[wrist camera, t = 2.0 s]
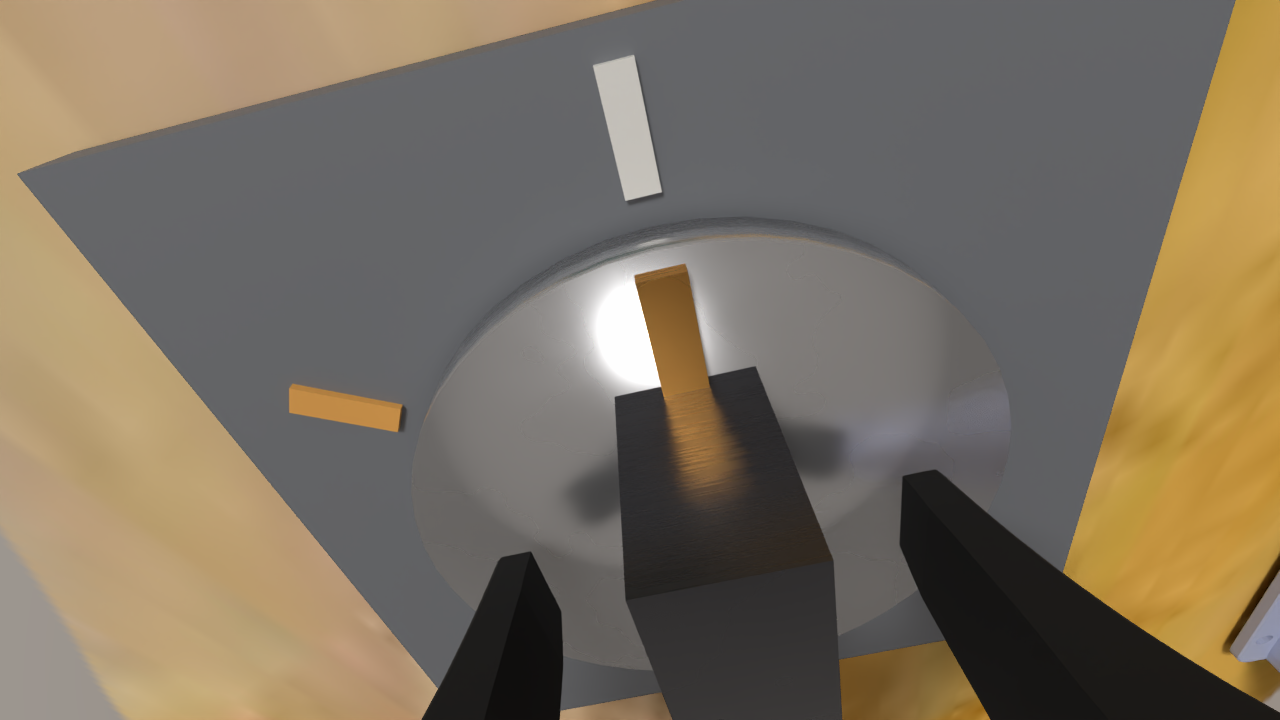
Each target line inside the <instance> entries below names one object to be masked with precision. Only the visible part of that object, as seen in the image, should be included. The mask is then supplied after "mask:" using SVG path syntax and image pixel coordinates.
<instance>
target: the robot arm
mask: <svg viewBox="0 0 1280 720" xmlns="http://www.w3.org/2000/svg"><path fill="white" fill-rule="evenodd" d="M899 545H900V548H901V550H902V553H903V555H904V557H905V560H906V562H907V565H908V567H909V569H910V572H911V574H912V576H913V579H914V581H915V583H916V586H917V588H918V590H919V592H920V595H921V597H922V599H923V601H924V602H925V604H926V606H927V608H928V610H929V611H930V613H931V615H932V617H933V619H934V620H935V622H936V624H937V626H938V628H939V629H940V631H941V633H942V635H943V636H944V638H945V640H946V642H947V644H948V645H949V647H950V649H951V651H952V652H953V654H954V656H955V658H956V659H957V661H958V663H959V665H960V666H961V668H962V670H963V672H964V673H965V675H966V677H967V679H968V681H969V682H970V684H971V686H972V688H973V689H974V691H975V693H976V695H977V696H978V698H979V700H980V702H981V703H982V705H983V707H984V709H985V710H986V712H987V714H988V716H989V718H990V720H1280V712H1278V711H1276V710H1274V709H1273V708H1271V707H1269V706H1267V705H1265V704H1264V703H1262V702H1260V701H1258V700H1257V699H1255V698H1253V697H1251V696H1249V695H1248V694H1246V693H1244V692H1242V691H1241V690H1239V689H1237V688H1235V687H1234V686H1232V685H1230V684H1229V683H1227V682H1225V681H1224V680H1222V679H1220V678H1219V677H1217V676H1215V675H1214V674H1212V673H1210V672H1209V671H1207V670H1206V669H1204V668H1202V667H1201V666H1199V665H1197V664H1196V663H1194V662H1193V661H1191V660H1189V659H1188V658H1186V657H1184V656H1183V655H1181V654H1180V653H1178V652H1177V651H1175V650H1173V649H1172V648H1170V647H1169V646H1167V645H1166V644H1164V643H1163V642H1161V641H1159V640H1158V639H1156V638H1155V637H1153V636H1152V635H1150V634H1149V633H1147V632H1146V631H1144V630H1143V629H1141V628H1140V627H1138V626H1137V625H1135V624H1134V623H1132V622H1131V621H1129V620H1128V619H1126V618H1125V617H1123V616H1122V615H1120V614H1119V613H1118V612H1116V611H1115V610H1113V609H1112V608H1110V607H1109V606H1107V605H1106V604H1105V603H1103V602H1102V601H1101V600H1099V599H1098V598H1096V597H1095V596H1094V595H1092V594H1091V593H1089V592H1088V591H1087V590H1085V589H1084V588H1082V587H1081V586H1080V585H1078V584H1077V583H1076V582H1074V581H1073V580H1072V579H1070V578H1069V577H1068V576H1066V575H1065V574H1064V573H1062V572H1061V571H1060V570H1058V569H1057V568H1056V567H1054V566H1053V565H1052V564H1050V563H1049V562H1048V561H1047V560H1045V559H1044V558H1043V557H1041V556H1040V555H1039V554H1038V553H1036V552H1035V551H1034V550H1033V549H1031V548H1030V547H1029V546H1027V545H1026V544H1025V543H1024V542H1022V541H1021V540H1020V539H1019V538H1017V537H1016V536H1015V535H1014V534H1012V533H1011V532H1010V531H1009V530H1007V529H1006V528H1005V527H1004V526H1003V525H1001V524H1000V523H999V522H998V521H997V520H995V519H994V518H993V517H992V516H991V515H989V514H988V513H987V512H986V511H985V510H983V509H982V508H981V507H980V506H979V505H978V504H976V503H975V502H974V501H973V500H972V499H971V498H969V497H968V496H967V495H966V494H965V493H964V492H963V491H961V490H960V489H959V488H958V487H957V486H956V485H955V484H953V483H952V482H951V481H950V480H949V479H948V478H947V477H945V476H944V475H943V474H942V473H941V472H939V471H938V470H936V469H934V470H929V471H924V472H919V473H914V474H909V475H904V476H903V477H902V499H901V520H900V542H899ZM1230 652H1231V653H1232V654H1233V655H1234V656H1235V657H1236V658H1237V660H1238V661H1241V662H1251V661H1257V660H1263V659H1267V660H1268V661H1269V662H1270V663H1271V664H1272V665H1273V666H1274V668H1275V669H1276V670H1277V671H1278V672H1279V673H1280V570H1279V572H1278V573H1277V575H1276V576H1275V578H1274V579H1273V581H1272V583H1271V584H1270V586H1269V587H1268V589H1267V590H1266V592H1265V594H1264V595H1263V597H1262V598H1261V600H1260V601H1259V603H1258V605H1257V606H1256V608H1255V609H1254V611H1253V612H1252V614H1251V616H1250V617H1249V619H1248V620H1247V622H1246V623H1245V625H1244V626H1243V628H1242V630H1241V631H1240V633H1239V634H1238V636H1237V637H1236V639H1235V641H1234V642H1233V644H1232V645H1231V647H1230ZM562 679H563V635H562V613H561V609H560V607H559V605H558V603H557V601H556V599H555V597H554V596H553V594H552V592H551V590H550V588H549V586H548V584H547V582H546V580H545V578H544V576H543V574H542V572H541V570H540V568H539V566H538V564H537V562H536V560H535V558H534V556H533V554H532V552H531V551H529V552H524V553H520V554H515V555H510V556H505V557H501V558H500V559H499V561H498V562H497V564H496V567H495V569H494V571H493V574H492V576H491V578H490V581H489V583H488V585H487V587H486V590H485V592H484V594H483V597H482V599H481V601H480V603H479V606H478V608H477V610H476V612H475V614H474V617H473V619H472V621H471V623H470V625H469V628H468V630H467V632H466V634H465V636H464V638H463V640H462V642H461V644H460V646H459V648H458V650H457V652H456V654H455V657H454V659H453V661H452V663H451V665H450V667H449V669H448V671H447V673H446V675H445V677H444V679H443V681H442V683H441V685H440V686H439V688H438V690H437V692H436V694H435V696H434V698H433V699H432V701H431V703H430V705H429V707H428V709H427V710H426V712H425V714H424V716H423V718H422V720H560V707H561V693H562Z"/></svg>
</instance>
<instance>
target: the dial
mask: <svg viewBox="0 0 1280 720" xmlns="http://www.w3.org/2000/svg"><path fill="white" fill-rule="evenodd" d="M1010 434H1011V419H1010V408H1009V398H1008V394H1007V391H1006V388H1005V384H1004V381H1003V378H1002V375H1001V371H1000V368H999V366H998V364H997V363H996V361H995V359H994V357H993V355H992V353H991V352H990V350H989V348H988V346H987V344H986V343H985V341H984V339H983V338H982V337H981V336H980V335H979V333H978V332H977V331H976V330H975V329H974V327H973V326H972V325H971V324H970V323H969V321H968V320H967V319H966V318H965V317H964V316H963V314H962V313H961V312H960V311H959V310H958V309H957V308H956V307H954V306H953V305H952V304H951V303H950V302H949V301H948V300H947V299H946V298H945V297H944V296H943V295H942V294H941V293H940V292H939V291H938V290H937V289H936V288H935V287H934V286H932V285H931V284H930V283H929V282H928V281H926V280H925V279H924V278H923V277H921V276H920V275H919V274H918V273H917V272H915V271H914V270H913V269H912V268H911V267H909V266H908V265H907V264H906V263H904V262H902V261H900V260H899V259H897V258H895V257H893V256H892V255H890V254H888V253H886V252H885V251H883V250H881V249H879V248H878V247H876V246H874V245H872V244H870V243H867V242H864V241H862V240H859V239H856V238H854V237H851V236H848V235H846V234H843V233H841V232H838V231H835V230H832V229H827V228H823V227H818V226H814V225H810V224H805V223H801V222H796V221H792V220H781V219H769V218H757V217H745V216H744V217H722V218H699V219H692V220H686V221H680V222H675V223H669V224H663V225H657V226H651V227H647V228H644V229H641V230H638V231H634V232H631V233H628V234H624V235H621V236H618V237H614V238H611V239H608V240H604V241H602V242H600V243H598V244H596V245H593V246H591V247H589V248H587V249H584V250H582V251H580V252H578V253H575V254H573V255H571V256H569V257H566V258H564V259H562V260H560V261H559V262H557V263H555V264H554V265H552V266H550V267H549V268H547V269H546V270H544V271H542V272H541V273H539V274H537V275H536V276H534V277H532V278H531V279H529V280H528V281H526V282H524V283H523V284H522V285H521V286H519V287H518V288H517V289H516V290H515V291H513V292H512V293H511V294H510V295H508V296H507V297H506V298H505V299H504V300H502V301H501V302H500V303H499V304H497V305H496V306H495V307H494V308H492V310H491V311H490V312H489V313H488V314H487V315H486V316H485V317H484V318H483V319H482V320H481V322H480V323H479V324H478V325H477V326H476V327H475V328H474V329H473V330H472V331H471V332H470V334H469V335H468V336H467V337H466V338H465V340H464V341H463V343H462V344H461V346H460V347H459V349H458V350H457V352H456V353H455V355H454V356H453V358H452V359H451V361H450V362H449V364H448V365H447V367H446V369H445V371H444V373H443V375H442V378H441V380H440V382H439V384H438V387H437V389H436V391H435V393H434V395H433V398H432V401H431V403H430V406H429V409H428V412H427V414H426V417H425V420H424V423H423V426H422V428H421V431H420V435H419V439H418V443H417V447H416V451H415V455H414V459H413V465H412V485H411V495H412V502H413V509H414V516H415V522H416V525H417V527H418V530H419V533H420V536H421V539H422V542H423V545H424V547H425V549H426V551H427V553H428V554H429V556H430V558H431V560H432V562H433V563H434V565H435V567H436V569H437V570H438V572H439V573H440V574H441V575H442V577H443V578H444V579H445V581H446V582H447V583H448V584H449V586H450V587H451V588H452V589H453V591H454V592H455V593H456V594H458V595H459V596H460V597H461V598H462V599H463V600H464V601H465V602H466V603H467V604H468V605H469V606H470V607H471V608H472V609H473V610H475V611H476V610H477V608H478V606H479V603H480V601H481V599H482V597H483V594H484V592H485V590H486V587H487V585H488V583H489V581H490V578H491V576H492V574H493V571H494V569H495V567H496V564H497V562H498V561H499V559H500V558H501V557H505V556H510V555H515V554H520V553H524V552H529V551H531V552H532V554H533V556H534V558H535V560H536V562H537V564H538V566H539V568H540V570H541V572H542V574H543V576H544V578H545V580H546V582H547V584H548V586H549V588H550V590H551V592H552V594H553V596H554V597H555V599H556V601H557V603H558V605H559V607H560V609H561V613H562V635H563V656H566V657H569V658H572V659H577V660H581V661H585V662H590V663H594V664H599V665H605V666H612V667H619V668H626V669H638V670H653V671H654V674H655V676H656V679H657V682H658V684H659V687H660V689H661V692H662V694H663V697H664V699H665V702H666V704H667V707H668V709H669V712H670V714H671V717H672V719H673V720H842V708H841V689H840V670H839V652H838V636H839V635H842V634H844V633H846V632H848V631H850V630H852V629H855V628H857V627H859V626H861V625H863V624H865V623H866V622H868V621H870V620H872V619H874V618H875V617H877V616H879V615H881V614H883V613H884V612H886V611H888V610H889V609H891V608H892V607H894V606H895V605H897V604H898V603H900V602H901V601H903V600H904V599H906V598H907V597H909V596H910V595H912V594H913V593H914V592H915V591H916V590H918V588H917V586H916V583H915V581H914V579H913V576H912V574H911V572H910V569H909V567H908V565H907V562H906V560H905V557H904V555H903V553H902V550H901V548H900V545H899V542H900V520H901V499H902V477H903V476H904V475H909V474H914V473H919V472H924V471H929V470H934V469H936V470H938V471H939V472H941V473H942V474H943V475H944V476H945V477H947V478H948V479H949V480H950V481H951V482H952V483H953V484H955V485H956V486H957V487H958V488H959V489H960V490H961V491H963V492H964V493H965V494H966V495H967V496H968V497H969V498H971V499H972V500H973V501H974V502H975V503H976V504H978V505H979V506H980V507H981V508H982V509H983V510H985V511H986V512H987V511H988V509H989V508H990V505H991V503H992V501H993V499H994V496H995V494H996V492H997V490H998V488H999V485H1000V483H1001V480H1002V477H1003V473H1004V469H1005V466H1006V462H1007V458H1008V455H1009V444H1010Z"/></svg>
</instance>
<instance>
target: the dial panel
mask: <svg viewBox="0 0 1280 720" xmlns="http://www.w3.org/2000/svg"><path fill="white" fill-rule="evenodd" d="M1235 1H1236V0H656V1H652V2H648V3H644V4H640V5H636V6H633V7H629V8H625V9H621V10H617V11H613V12H610V13H606V14H602V15H598V16H594V17H590V18H587V19H583V20H579V21H575V22H571V23H567V24H564V25H560V26H556V27H552V28H548V29H544V30H541V31H537V32H533V33H529V34H525V35H521V36H518V37H514V38H510V39H506V40H502V41H498V42H495V43H491V44H487V45H483V46H479V47H475V48H472V49H468V50H464V51H460V52H456V53H452V54H449V55H445V56H441V57H437V58H433V59H429V60H425V61H422V62H418V63H414V64H410V65H406V66H402V67H399V68H395V69H391V70H387V71H383V72H379V73H376V74H372V75H368V76H364V77H360V78H356V79H353V80H349V81H345V82H341V83H337V84H333V85H330V86H326V87H322V88H318V89H314V90H310V91H307V92H303V93H299V94H295V95H291V96H287V97H284V98H280V99H276V100H272V101H268V102H264V103H261V104H257V105H253V106H249V107H245V108H241V109H238V110H234V111H230V112H226V113H222V114H218V115H215V116H211V117H207V118H203V119H199V120H195V121H192V122H188V123H184V124H180V125H176V126H172V127H168V128H165V129H161V130H157V131H153V132H149V133H145V134H142V135H138V136H134V137H130V138H126V139H122V140H119V141H115V142H111V143H107V144H103V145H99V146H96V147H92V148H88V149H84V150H80V151H76V152H73V153H71V154H68V155H65V156H63V157H60V158H57V159H55V160H52V161H49V162H47V163H44V164H41V165H39V166H36V167H34V168H31V169H28V170H26V171H23V172H20V173H18V174H17V175H18V176H19V177H20V178H21V180H22V181H23V182H24V183H25V185H26V186H27V187H28V188H29V189H30V191H31V192H32V193H33V194H34V196H35V197H36V198H37V199H38V200H39V202H40V203H41V204H42V205H43V207H44V208H45V209H46V210H47V211H48V213H49V214H50V215H51V216H52V218H53V219H54V220H55V221H56V222H57V224H58V225H59V226H60V227H61V228H62V230H63V231H64V232H65V233H66V235H67V236H68V237H69V238H70V239H71V241H72V242H73V243H74V244H75V246H76V247H77V248H78V249H79V250H80V252H81V253H82V254H83V255H84V257H85V258H86V259H87V260H88V261H89V263H90V264H91V265H92V266H93V268H94V269H95V270H96V271H97V272H98V274H99V275H100V276H101V277H102V279H103V280H104V281H105V282H106V283H107V285H108V286H109V287H110V288H111V290H112V291H113V292H114V293H115V294H116V296H117V297H118V298H119V299H120V301H121V302H122V303H123V304H124V305H125V307H126V308H127V309H128V310H129V312H130V313H131V314H132V315H133V316H134V318H135V319H136V320H137V321H138V323H139V324H140V325H141V326H142V327H143V329H144V330H145V331H146V332H147V334H148V335H149V336H150V337H151V338H152V340H153V341H154V342H155V343H156V345H157V346H158V347H159V348H160V349H161V351H162V352H163V353H164V354H165V356H166V357H167V358H168V359H169V360H170V362H171V363H172V364H173V365H174V367H175V368H176V369H177V370H178V371H179V373H180V374H181V375H182V376H183V378H184V379H185V380H186V381H187V382H188V384H189V385H190V386H191V387H192V389H193V390H194V391H195V392H196V393H197V395H198V396H199V397H200V398H201V400H202V401H203V402H204V403H205V404H206V406H207V407H208V408H209V409H210V410H211V412H212V413H213V414H214V415H215V417H216V418H217V419H218V420H219V421H220V423H221V424H222V425H223V426H224V428H225V429H226V430H227V431H228V432H229V434H230V435H231V436H232V437H233V439H234V440H235V441H236V442H237V443H238V445H239V446H240V447H241V448H242V450H243V451H244V452H245V453H246V454H247V456H248V457H249V458H250V459H251V461H252V462H253V463H254V464H255V465H256V467H257V468H258V469H259V470H260V472H261V473H262V474H263V475H264V476H265V478H266V479H267V480H268V481H269V483H270V484H271V485H272V486H273V487H274V489H275V490H276V491H277V492H278V494H279V495H280V496H281V497H282V498H283V500H284V501H285V502H286V503H287V505H288V506H289V507H290V508H291V509H292V511H293V512H294V513H295V514H296V516H297V517H298V518H299V519H300V520H301V522H302V523H303V524H304V525H305V527H306V528H307V529H308V530H309V531H310V533H311V534H312V535H313V536H314V538H315V539H316V540H317V541H318V542H319V544H320V545H321V546H322V547H323V549H324V550H325V551H326V552H327V553H328V555H329V556H330V557H331V558H332V560H333V561H334V562H335V563H336V564H337V566H338V567H339V568H340V569H341V571H342V572H343V573H344V574H345V575H346V577H347V578H348V579H349V580H350V582H351V583H352V584H353V585H354V586H355V588H356V589H357V590H358V591H359V592H360V594H361V595H362V596H363V597H364V599H365V600H366V601H367V602H368V603H369V605H370V606H371V607H372V608H373V610H374V611H375V612H376V613H377V614H378V616H379V617H380V618H381V619H382V621H383V622H384V623H385V624H386V625H387V627H388V628H389V629H390V630H391V632H392V633H393V634H394V635H395V636H396V638H397V639H398V640H399V641H400V643H401V644H402V645H403V646H404V647H405V649H406V650H407V651H408V652H409V654H410V655H411V656H412V657H413V658H414V660H415V661H416V662H417V663H418V665H419V666H420V667H421V668H422V669H423V671H424V672H425V673H426V674H427V676H428V677H429V678H430V679H431V680H432V682H433V683H434V684H435V685H436V687H437V688H439V686H440V685H441V683H442V681H443V679H444V677H445V675H446V673H447V671H448V669H449V667H450V665H451V663H452V661H453V659H454V657H455V654H456V652H457V650H458V648H459V646H460V644H461V642H462V640H463V638H464V636H465V634H466V632H467V630H468V628H469V625H470V623H471V621H472V619H473V617H474V614H475V612H476V611H475V610H473V609H472V608H471V607H470V606H469V605H468V604H467V603H466V602H465V601H464V600H463V599H462V598H461V597H460V596H459V595H458V594H456V593H455V592H454V591H453V589H452V588H451V587H450V586H449V584H448V583H447V582H446V581H445V579H444V578H443V577H442V575H441V574H440V573H439V572H438V570H437V569H436V567H435V565H434V563H433V562H432V560H431V558H430V556H429V554H428V553H427V551H426V549H425V547H424V545H423V542H422V539H421V536H420V533H419V530H418V527H417V525H416V522H415V516H414V509H413V502H412V495H411V485H412V465H413V459H414V455H415V451H416V447H417V443H418V439H419V435H420V431H421V428H422V426H423V423H424V420H425V417H426V414H427V412H428V409H429V406H430V403H431V401H432V398H433V395H434V393H435V391H436V389H437V387H438V384H439V382H440V380H441V378H442V375H443V373H444V371H445V369H446V367H447V365H448V364H449V362H450V361H451V359H452V358H453V356H454V355H455V353H456V352H457V350H458V349H459V347H460V346H461V344H462V343H463V341H464V340H465V338H466V337H467V336H468V335H469V334H470V332H471V331H472V330H473V329H474V328H475V327H476V326H477V325H478V324H479V323H480V322H481V320H482V319H483V318H484V317H485V316H486V315H487V314H488V313H489V312H490V311H491V310H492V308H494V307H495V306H496V305H497V304H499V303H500V302H501V301H502V300H504V299H505V298H506V297H507V296H508V295H510V294H511V293H512V292H513V291H515V290H516V289H517V288H518V287H519V286H521V285H522V284H523V283H524V282H526V281H528V280H529V279H531V278H532V277H534V276H536V275H537V274H539V273H541V272H542V271H544V270H546V269H547V268H549V267H550V266H552V265H554V264H555V263H557V262H559V261H560V260H562V259H564V258H566V257H569V256H571V255H573V254H575V253H578V252H580V251H582V250H584V249H587V248H589V247H591V246H593V245H596V244H598V243H600V242H602V241H604V240H608V239H611V238H614V237H618V236H621V235H624V234H628V233H631V232H634V231H638V230H641V229H644V228H647V227H651V226H657V225H663V224H669V223H675V222H680V221H686V220H692V219H699V218H722V217H744V216H745V217H757V218H769V219H781V220H792V221H796V222H801V223H805V224H810V225H814V226H818V227H823V228H827V229H832V230H835V231H838V232H841V233H843V234H846V235H848V236H851V237H854V238H856V239H859V240H862V241H864V242H867V243H870V244H872V245H874V246H876V247H878V248H879V249H881V250H883V251H885V252H886V253H888V254H890V255H892V256H893V257H895V258H897V259H899V260H900V261H902V262H904V263H906V264H907V265H908V266H909V267H911V268H912V269H913V270H914V271H915V272H917V273H918V274H919V275H920V276H921V277H923V278H924V279H925V280H926V281H928V282H929V283H930V284H931V285H932V286H934V287H935V288H936V289H937V290H938V291H939V292H940V293H941V294H942V295H943V296H944V297H945V298H946V299H947V300H948V301H949V302H950V303H951V304H952V305H953V306H954V307H956V308H957V309H958V310H959V311H960V312H961V313H962V314H963V316H964V317H965V318H966V319H967V320H968V321H969V323H970V324H971V325H972V326H973V327H974V329H975V330H976V331H977V332H978V333H979V335H980V336H981V337H982V338H983V339H984V341H985V343H986V344H987V346H988V348H989V350H990V352H991V353H992V355H993V357H994V359H995V361H996V363H997V364H998V366H999V368H1000V371H1001V375H1002V378H1003V381H1004V384H1005V388H1006V391H1007V394H1008V398H1009V408H1010V419H1011V434H1010V444H1009V455H1008V458H1007V462H1006V466H1005V469H1004V473H1003V477H1002V480H1001V483H1000V485H999V488H998V490H997V492H996V494H995V496H994V499H993V501H992V503H991V505H990V508H989V509H988V511H987V513H988V514H989V515H991V516H992V517H993V518H994V519H995V520H997V521H998V522H999V523H1000V524H1001V525H1003V526H1004V527H1005V528H1006V529H1007V530H1009V531H1010V532H1011V533H1012V534H1014V535H1015V536H1016V537H1017V538H1019V539H1020V540H1021V541H1022V542H1024V543H1025V544H1026V545H1027V546H1029V547H1030V548H1031V549H1033V550H1034V551H1035V552H1036V553H1038V554H1039V555H1040V556H1041V557H1043V558H1044V559H1045V560H1047V561H1048V562H1049V563H1050V564H1052V565H1053V566H1054V567H1056V568H1057V569H1058V570H1060V571H1061V572H1062V573H1063V569H1064V566H1065V563H1066V559H1067V556H1068V553H1069V550H1070V546H1071V543H1072V540H1073V536H1074V533H1075V530H1076V526H1077V523H1078V520H1079V516H1080V513H1081V510H1082V507H1083V503H1084V500H1085V497H1086V493H1087V490H1088V487H1089V483H1090V480H1091V477H1092V474H1093V470H1094V467H1095V464H1096V460H1097V457H1098V454H1099V450H1100V447H1101V444H1102V440H1103V437H1104V434H1105V431H1106V427H1107V424H1108V421H1109V417H1110V414H1111V411H1112V407H1113V404H1114V401H1115V397H1116V394H1117V391H1118V388H1119V384H1120V381H1121V378H1122V374H1123V371H1124V368H1125V364H1126V361H1127V358H1128V354H1129V351H1130V348H1131V345H1132V341H1133V338H1134V335H1135V331H1136V328H1137V325H1138V321H1139V318H1140V315H1141V311H1142V308H1143V305H1144V302H1145V298H1146V295H1147V292H1148V288H1149V285H1150V282H1151V278H1152V275H1153V272H1154V268H1155V265H1156V262H1157V259H1158V255H1159V252H1160V249H1161V245H1162V242H1163V239H1164V235H1165V232H1166V229H1167V225H1168V222H1169V219H1170V216H1171V212H1172V209H1173V206H1174V202H1175V199H1176V196H1177V192H1178V189H1179V186H1180V182H1181V179H1182V176H1183V173H1184V169H1185V166H1186V163H1187V159H1188V156H1189V153H1190V149H1191V146H1192V143H1193V139H1194V136H1195V133H1196V130H1197V126H1198V123H1199V120H1200V116H1201V113H1202V110H1203V106H1204V103H1205V100H1206V96H1207V93H1208V90H1209V87H1210V83H1211V80H1212V77H1213V73H1214V70H1215V67H1216V63H1217V60H1218V57H1219V53H1220V50H1221V47H1222V44H1223V40H1224V37H1225V34H1226V30H1227V27H1228V24H1229V20H1230V17H1231V14H1232V10H1233V7H1234V4H1235ZM943 640H945V638H944V636H943V635H942V633H941V631H940V629H939V628H938V626H937V624H936V622H935V620H934V619H933V617H932V615H931V613H930V611H929V610H928V608H927V606H926V604H925V602H924V601H923V599H922V597H921V595H920V592H919V590H916V591H915V592H914V593H913V594H912V595H910V596H909V597H907V598H906V599H904V600H903V601H901V602H900V603H898V604H897V605H895V606H894V607H892V608H891V609H889V610H888V611H886V612H884V613H883V614H881V615H879V616H877V617H875V618H874V619H872V620H870V621H868V622H866V623H865V624H863V625H861V626H859V627H857V628H855V629H852V630H850V631H848V632H846V633H844V634H842V635H839V636H838V652H839V659H845V658H850V657H856V656H861V655H867V654H872V653H878V652H883V651H889V650H894V649H899V648H905V647H910V646H916V645H921V644H927V643H932V642H938V641H943ZM659 692H661V689H660V687H659V684H658V682H657V679H656V676H655V674H654V671H653V670H638V669H626V668H619V667H612V666H605V665H599V664H594V663H590V662H585V661H581V660H577V659H572V658H569V657H566V656H563V679H562V693H561V707H560V711H561V710H566V709H572V708H577V707H583V706H588V705H594V704H599V703H605V702H610V701H616V700H621V699H626V698H632V697H637V696H643V695H648V694H654V693H659Z"/></svg>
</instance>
